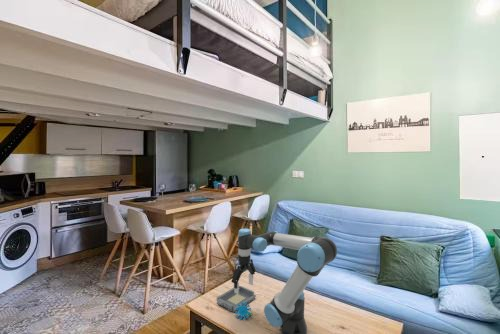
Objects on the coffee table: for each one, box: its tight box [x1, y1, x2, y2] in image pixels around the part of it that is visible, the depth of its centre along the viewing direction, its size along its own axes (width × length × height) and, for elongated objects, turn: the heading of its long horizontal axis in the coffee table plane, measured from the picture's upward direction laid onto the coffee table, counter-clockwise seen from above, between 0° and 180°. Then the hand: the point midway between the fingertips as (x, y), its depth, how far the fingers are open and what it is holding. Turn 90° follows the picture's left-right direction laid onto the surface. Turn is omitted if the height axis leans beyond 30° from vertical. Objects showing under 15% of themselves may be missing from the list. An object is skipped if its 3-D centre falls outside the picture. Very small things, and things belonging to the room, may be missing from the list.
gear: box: [234, 302, 253, 321], centre depth 155 cm, size 11×6×10 cm
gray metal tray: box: [216, 285, 257, 314], centre depth 171 cm, size 17×23×4 cm
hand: (243, 288), depth 153 cm, fingers open, 13 cm apart
